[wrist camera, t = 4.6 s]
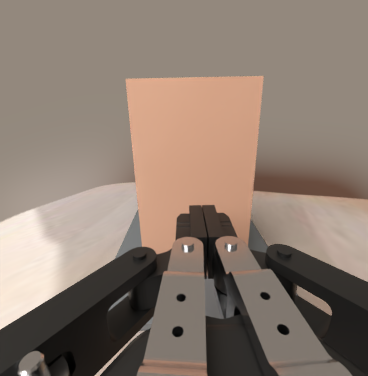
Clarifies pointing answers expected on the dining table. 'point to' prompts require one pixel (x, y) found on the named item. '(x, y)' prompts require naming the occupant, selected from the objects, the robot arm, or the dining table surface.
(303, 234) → the dining table surface
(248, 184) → the glazed tile
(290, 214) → the dining table surface
